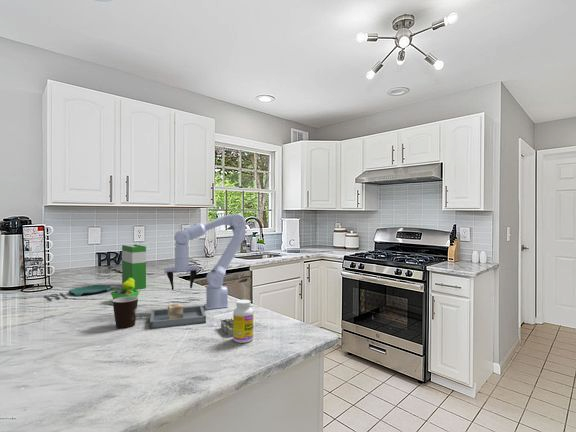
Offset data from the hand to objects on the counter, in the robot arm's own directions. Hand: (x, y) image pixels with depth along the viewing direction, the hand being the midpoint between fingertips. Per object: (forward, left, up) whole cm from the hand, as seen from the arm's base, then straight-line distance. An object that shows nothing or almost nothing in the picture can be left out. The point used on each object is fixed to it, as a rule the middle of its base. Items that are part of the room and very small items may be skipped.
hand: (181, 288), depth 144 cm
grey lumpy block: (-17, +34, -10) cm, 39 cm away
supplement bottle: (-18, +44, -10) cm, 48 cm away
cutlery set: (+51, -51, -10) cm, 73 cm away
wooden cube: (+3, +13, -9) cm, 16 cm away
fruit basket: (+25, -23, -10) cm, 36 cm away
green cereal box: (+25, -58, -10) cm, 64 cm away
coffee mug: (+20, +14, -10) cm, 26 cm away
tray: (+2, +14, -9) cm, 16 cm away
